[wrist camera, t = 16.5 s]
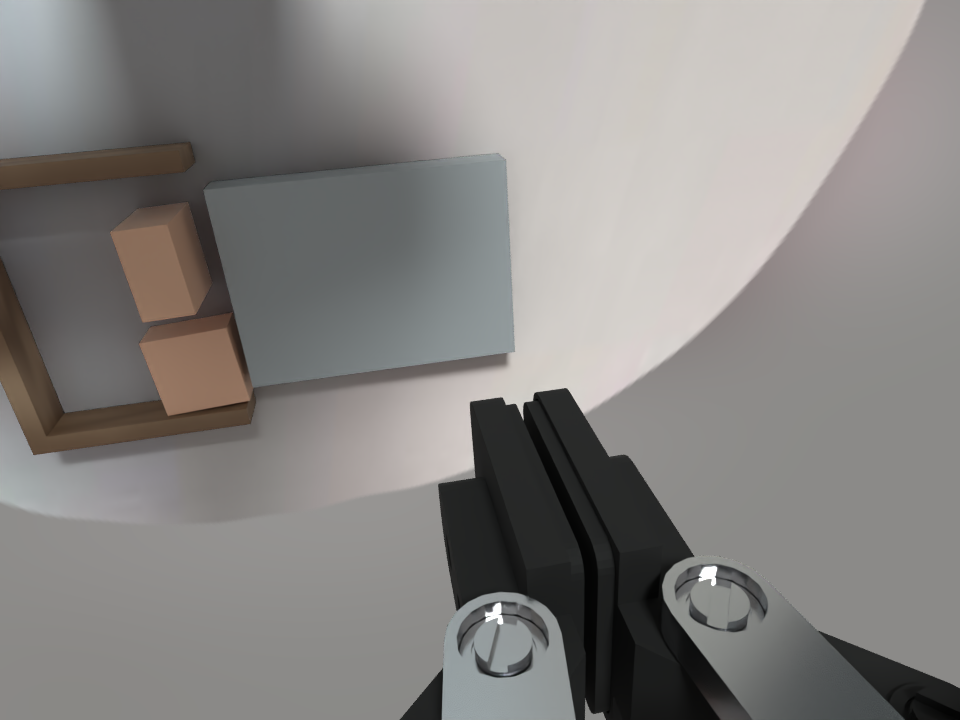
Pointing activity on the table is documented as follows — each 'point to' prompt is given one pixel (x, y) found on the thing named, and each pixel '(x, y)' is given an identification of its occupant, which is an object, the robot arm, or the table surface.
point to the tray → (13, 352)
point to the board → (367, 266)
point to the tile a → (163, 261)
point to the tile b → (197, 363)
